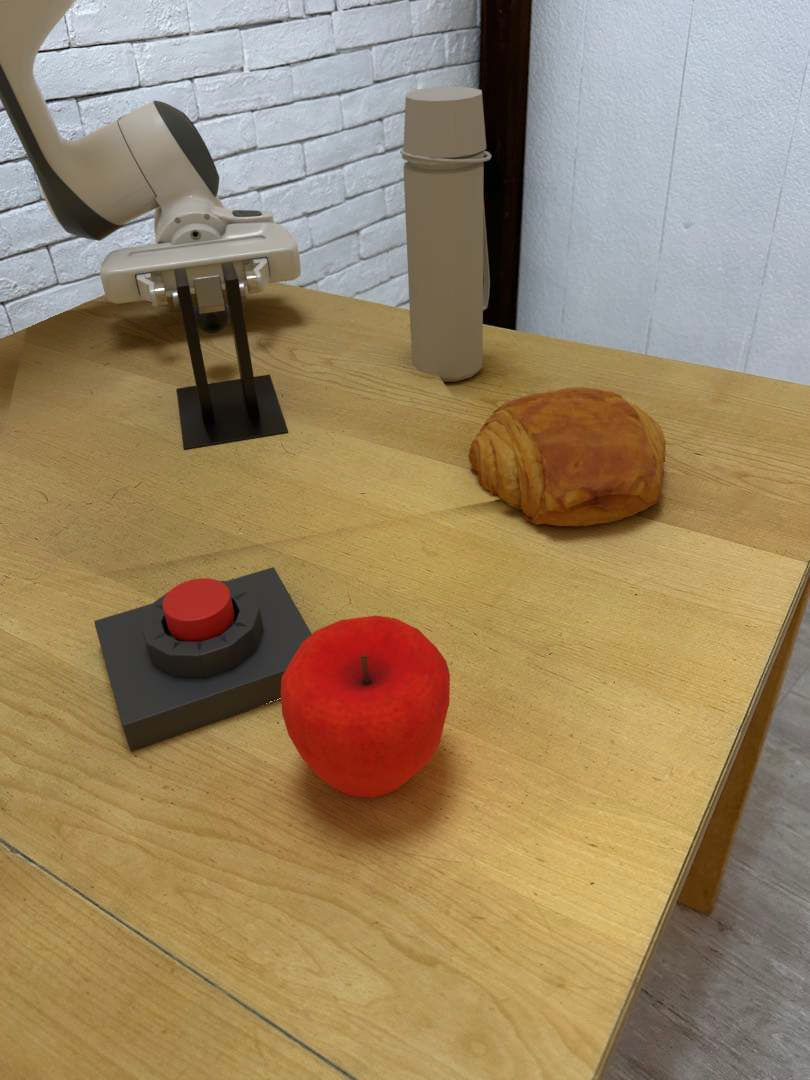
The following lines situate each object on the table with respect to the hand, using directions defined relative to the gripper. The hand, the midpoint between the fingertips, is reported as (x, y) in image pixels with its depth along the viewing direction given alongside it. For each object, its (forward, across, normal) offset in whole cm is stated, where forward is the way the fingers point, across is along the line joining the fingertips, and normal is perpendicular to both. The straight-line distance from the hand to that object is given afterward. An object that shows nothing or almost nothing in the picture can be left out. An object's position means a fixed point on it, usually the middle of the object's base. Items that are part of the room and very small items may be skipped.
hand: (207, 291), depth 89 cm
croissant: (+32, +25, +8) cm, 42 cm away
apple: (+56, +4, +8) cm, 56 cm away
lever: (+9, 0, 0) cm, 9 cm away
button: (+45, -4, +4) cm, 45 cm away
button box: (+45, -4, +8) cm, 46 cm away
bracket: (+13, 0, +8) cm, 15 cm away
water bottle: (+8, +22, +8) cm, 25 cm away
